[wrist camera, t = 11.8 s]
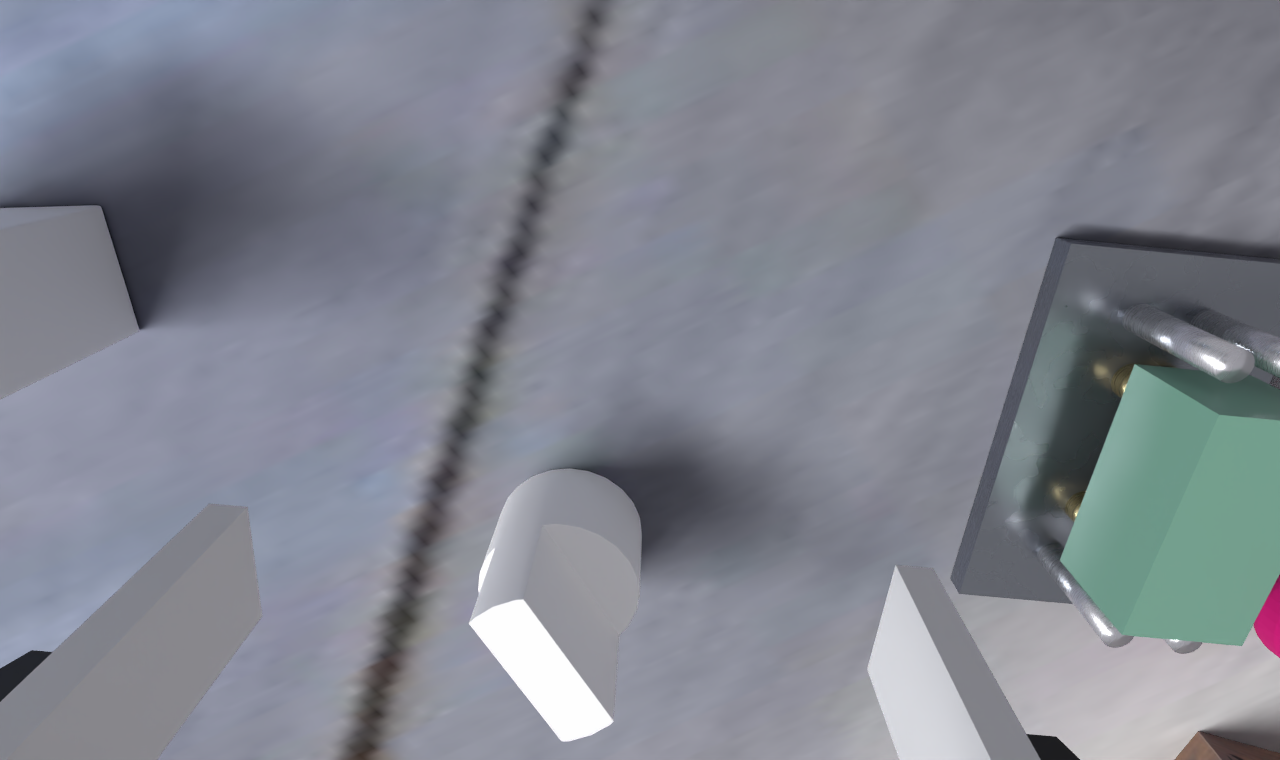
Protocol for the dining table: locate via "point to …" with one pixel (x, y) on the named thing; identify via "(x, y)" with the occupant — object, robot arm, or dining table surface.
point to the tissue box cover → (1222, 750)
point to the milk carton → (57, 292)
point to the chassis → (1102, 397)
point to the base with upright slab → (562, 594)
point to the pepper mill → (1270, 620)
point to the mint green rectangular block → (1183, 508)
